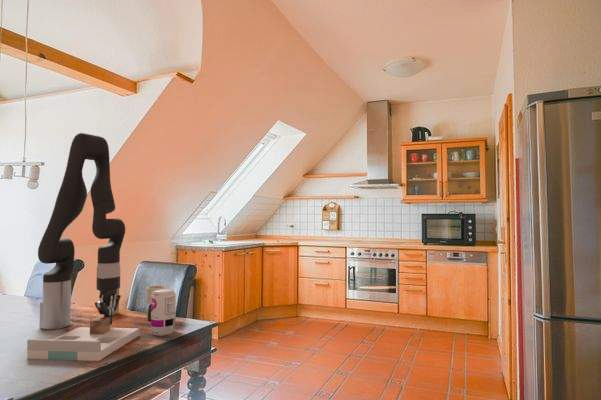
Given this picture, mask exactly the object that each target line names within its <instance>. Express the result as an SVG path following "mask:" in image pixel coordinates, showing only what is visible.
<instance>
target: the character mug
mask: <svg viewBox="0 0 601 400" xmlns="http://www.w3.org/2000/svg"><path fill="white" fill-rule="evenodd" d="M158 289H166V286H165V285H150V286H147V287H146V291H145V292H146V295H145V296H146V299H145V300H146V301H145V302H146V304H148V308H147V309H148V310H147V320H151V295H152V293H153V291H154V290H158Z"/></svg>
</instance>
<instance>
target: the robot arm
mask: <svg viewBox="0 0 601 400" xmlns="http://www.w3.org/2000/svg"><path fill="white" fill-rule="evenodd" d="M86 160H89V161H94V165H95V169H96V172H95V176H94V179H93V181H92V184H91V186H90V198H91V202H92V207H93V213H92V215H93V216H92V223H91V225H92V226H91V229H92V231H91V232H92V234H93V236H94V237H95V238H96V239H98V240H107V239H108V242H107V243H106V244H105V245H101V246H99V247H98V249H97V266H96V290H97V291H99V296H98V298H99V299H98V301H95V302H94V306H95V308H96V309H97V312H98V314H99V315H103V317H110V326H112V324H113V315H112V314H113V313H114V311H116V309H117V306H118V303H119V304H120V300H121V298H122V295H120V294H119V295H117V289H119V290H120V288H121V264H120V263H121V262H120V261H121V248H122V245H123V241H124V238H125V234H126V224H125V222H124V221H123V220H122V219H120V218H107V214H112V213H113V212H115V210H116V204H115V199H114V194H113V189H112V183H111V164H110V162H111V161H110V148H109V144H108V142H107V140H106V138H104V137H103V136H100V135H94V134H91V133H86V132H79V133H77V134H75V136H74V137H73V139H72V142H71V143H70V148H69V152H68V158H67V162H66V167H65V172H64V175H63V178H62V182H61V185H60V187H59V191H58V194H57V196H56V200H55V202H54V207H53V210H52V213H51V216H50V219H49V222H48V225H47V227H46V229H45V231H44V234H43V235H42V238H41V240H40V242H39V245H38V249H37V256H38V257H37V258H38V260H39V261H40V263H42V264H47V265H49V264H55V265H54V267H53V268H52V269H50V270H49V271H47V272H45V273H43V276H42V301H41V302H39V325H38V326H39V329H42V330H58V329H63V328H67V327H70V325H71V322H72V321H71V320H72V319H71V315H72V314H71V313H72V312H71V311H72V310H71V309H72V308H71V307H72V276H73V272H74V266H75V265H74V264H75V263H74V262H75V244H74V242H73V240H72V239H70V238H68V237H62V236H63V234H64V232H65V230H66V229H67V228H68V227H69V225H70V224H72V223H73V222H74V221H75V220H76V219H77V218H78V217H79V216H80V215H81V213H82V212H83V209H84V208H85V204H86V200H87V196H88V190H87V186H86V184H85V180H84V177H83V168H84V164H85V161H86Z"/></svg>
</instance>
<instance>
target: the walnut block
mask: <svg viewBox="0 0 601 400" xmlns="http://www.w3.org/2000/svg"><path fill="white" fill-rule="evenodd" d="M89 327H90V334H104V333H106V332H108V331H110V328H111V325H110V317H104V316H96V317H95V318H92V319H90V320H89Z"/></svg>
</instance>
